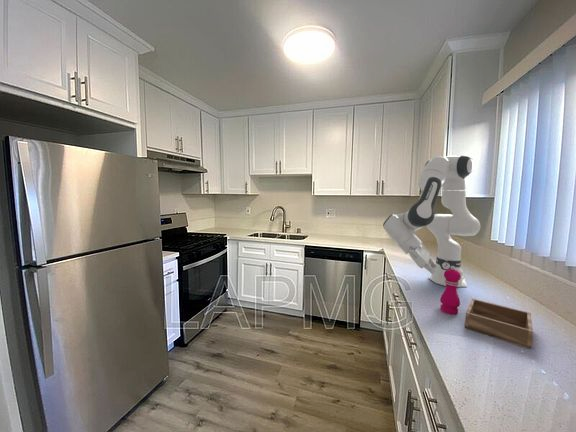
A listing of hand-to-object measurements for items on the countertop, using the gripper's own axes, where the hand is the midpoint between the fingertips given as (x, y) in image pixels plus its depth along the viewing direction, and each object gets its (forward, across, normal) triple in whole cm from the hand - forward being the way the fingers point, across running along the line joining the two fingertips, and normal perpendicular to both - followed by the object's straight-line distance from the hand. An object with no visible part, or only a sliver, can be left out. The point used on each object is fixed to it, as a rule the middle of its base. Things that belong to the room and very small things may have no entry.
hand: (434, 270), depth 109 cm
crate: (+27, -6, -4) cm, 28 cm away
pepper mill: (+17, 0, +7) cm, 18 cm away
